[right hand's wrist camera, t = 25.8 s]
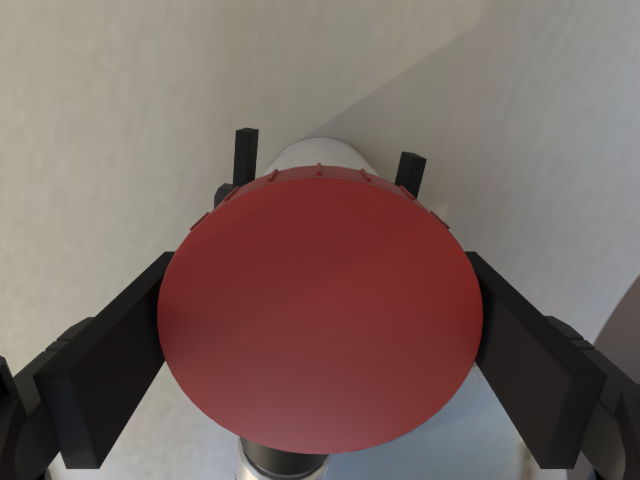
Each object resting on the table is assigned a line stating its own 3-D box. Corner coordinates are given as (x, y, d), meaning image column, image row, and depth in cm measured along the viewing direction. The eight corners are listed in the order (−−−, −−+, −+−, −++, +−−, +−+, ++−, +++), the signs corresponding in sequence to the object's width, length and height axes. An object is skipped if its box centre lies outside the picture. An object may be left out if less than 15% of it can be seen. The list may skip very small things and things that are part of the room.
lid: (489, 359, 13) (519, 403, 11) (260, 435, 15) (251, 487, 13) (407, 108, 10) (428, 109, 8) (125, 236, 12) (84, 263, 10)
